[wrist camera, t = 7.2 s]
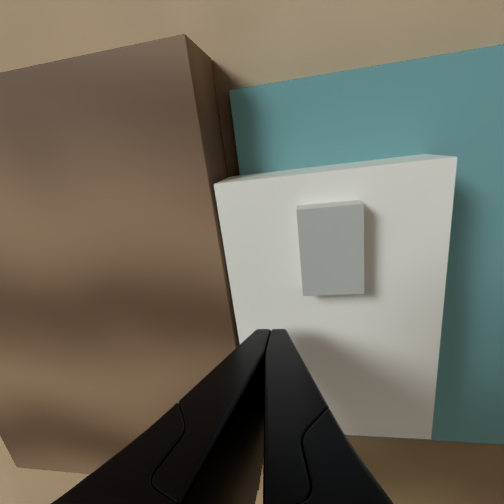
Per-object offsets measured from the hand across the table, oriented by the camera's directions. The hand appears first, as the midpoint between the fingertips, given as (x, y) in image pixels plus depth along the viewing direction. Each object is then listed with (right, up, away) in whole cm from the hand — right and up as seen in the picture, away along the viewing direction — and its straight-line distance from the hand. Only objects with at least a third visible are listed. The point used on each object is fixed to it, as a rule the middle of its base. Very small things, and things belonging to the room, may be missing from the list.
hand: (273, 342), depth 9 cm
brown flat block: (-7, +1, +4) cm, 8 cm away
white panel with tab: (+2, +1, +2) cm, 3 cm away
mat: (+4, +1, +2) cm, 5 cm away
